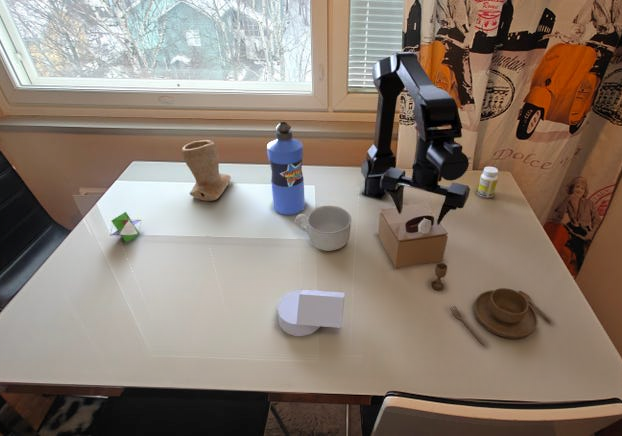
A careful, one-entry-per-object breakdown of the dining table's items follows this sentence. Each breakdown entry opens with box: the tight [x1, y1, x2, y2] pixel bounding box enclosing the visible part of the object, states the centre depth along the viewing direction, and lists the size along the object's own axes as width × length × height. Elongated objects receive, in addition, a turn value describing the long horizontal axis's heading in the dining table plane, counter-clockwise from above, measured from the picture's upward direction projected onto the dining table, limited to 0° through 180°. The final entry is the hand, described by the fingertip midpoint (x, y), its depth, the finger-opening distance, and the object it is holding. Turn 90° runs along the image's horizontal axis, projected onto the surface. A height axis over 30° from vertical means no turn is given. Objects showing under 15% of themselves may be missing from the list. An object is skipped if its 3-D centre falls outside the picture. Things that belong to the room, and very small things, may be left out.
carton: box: [377, 211, 449, 269], centre depth 94 cm, size 13×12×8 cm
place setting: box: [430, 262, 552, 346], centre depth 80 cm, size 18×20×6 cm
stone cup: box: [181, 139, 232, 202], centre depth 115 cm, size 15×12×15 cm
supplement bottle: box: [476, 166, 499, 199], centre depth 116 cm, size 5×5×8 cm
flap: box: [379, 203, 436, 225], centre depth 95 cm, size 6×12×1 cm, turn 103°
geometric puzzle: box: [109, 211, 142, 244], centre depth 98 cm, size 7×7×8 cm
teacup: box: [294, 205, 352, 252], centre depth 96 cm, size 14×11×8 cm
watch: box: [405, 215, 434, 233], centre depth 88 cm, size 8×5×4 cm, turn 122°
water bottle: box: [266, 121, 306, 216], centre depth 105 cm, size 9×9×25 cm
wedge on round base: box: [276, 289, 346, 337], centre depth 76 cm, size 9×7×13 cm
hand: (418, 218), depth 90 cm, fingers open, 9 cm apart
